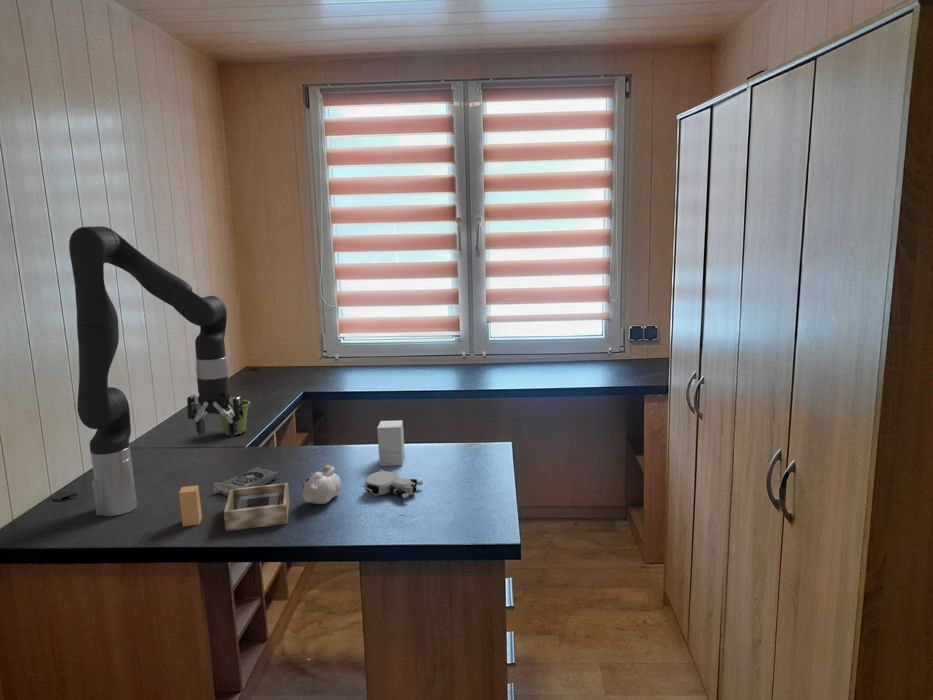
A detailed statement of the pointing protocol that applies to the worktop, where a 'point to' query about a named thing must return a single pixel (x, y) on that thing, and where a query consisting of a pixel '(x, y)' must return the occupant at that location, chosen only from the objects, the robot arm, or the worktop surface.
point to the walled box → (257, 507)
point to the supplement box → (391, 443)
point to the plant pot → (240, 424)
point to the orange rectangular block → (190, 505)
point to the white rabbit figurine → (322, 486)
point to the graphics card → (246, 480)
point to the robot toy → (390, 484)
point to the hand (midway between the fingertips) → (217, 435)
